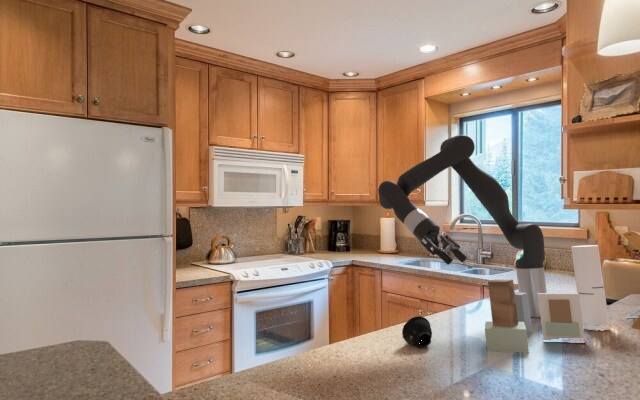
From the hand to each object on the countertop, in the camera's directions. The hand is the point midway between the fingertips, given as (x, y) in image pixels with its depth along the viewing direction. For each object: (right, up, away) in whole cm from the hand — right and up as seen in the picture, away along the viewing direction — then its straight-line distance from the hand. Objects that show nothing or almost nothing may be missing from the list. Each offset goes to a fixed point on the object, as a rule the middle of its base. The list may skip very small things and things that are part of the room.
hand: (458, 261), depth 125 cm
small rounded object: (-12, -24, 0) cm, 27 cm away
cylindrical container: (+42, -21, +2) cm, 47 cm away
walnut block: (+9, -16, -11) cm, 21 cm away
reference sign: (+26, -21, -10) cm, 34 cm away
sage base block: (+10, -22, -12) cm, 26 cm away
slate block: (+20, -22, +2) cm, 30 cm away
